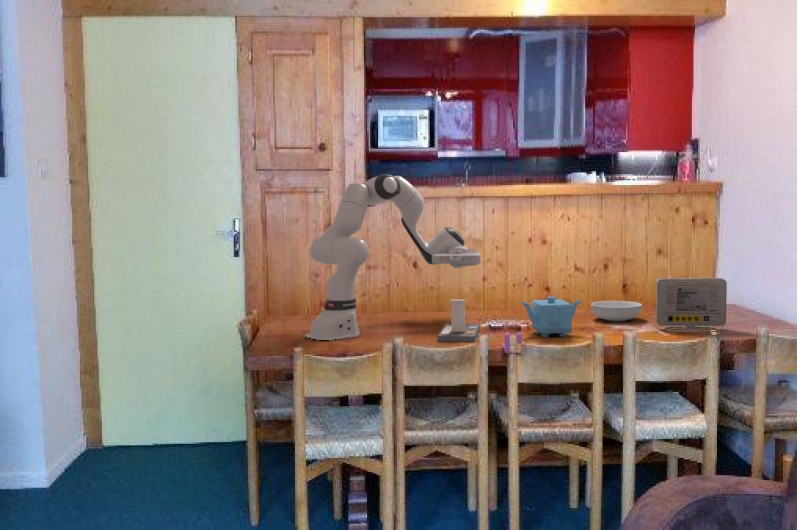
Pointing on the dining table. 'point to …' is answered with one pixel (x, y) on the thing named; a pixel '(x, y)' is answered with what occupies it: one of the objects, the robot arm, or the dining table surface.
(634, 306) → the serving bowl
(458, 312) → the switch tab
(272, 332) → the dining table surface
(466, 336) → the switch panel
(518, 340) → the bracket
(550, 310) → the teakettle
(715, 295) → the network device
